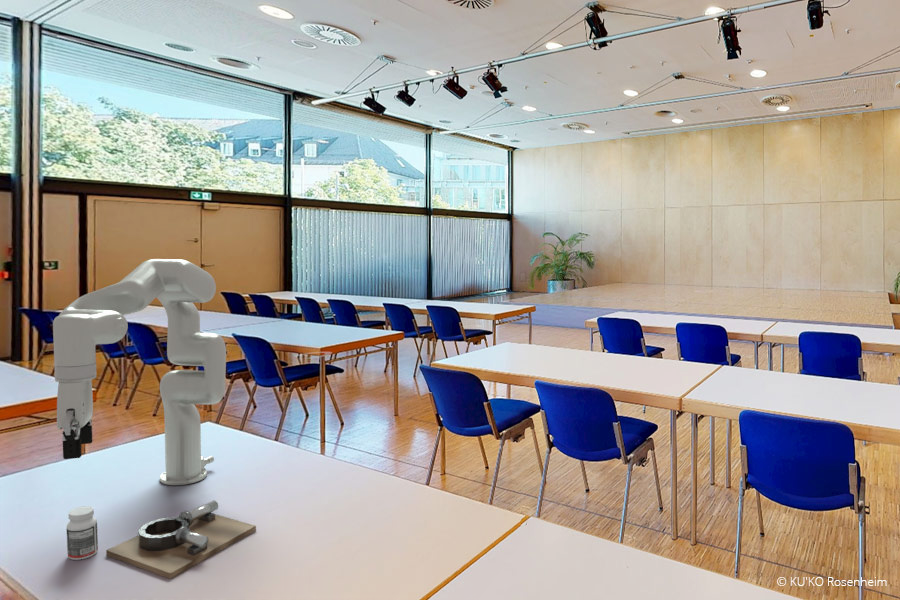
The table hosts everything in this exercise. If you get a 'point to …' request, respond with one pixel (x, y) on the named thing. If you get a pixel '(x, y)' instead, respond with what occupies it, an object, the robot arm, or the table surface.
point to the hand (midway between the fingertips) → (78, 450)
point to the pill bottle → (82, 533)
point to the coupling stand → (180, 540)
